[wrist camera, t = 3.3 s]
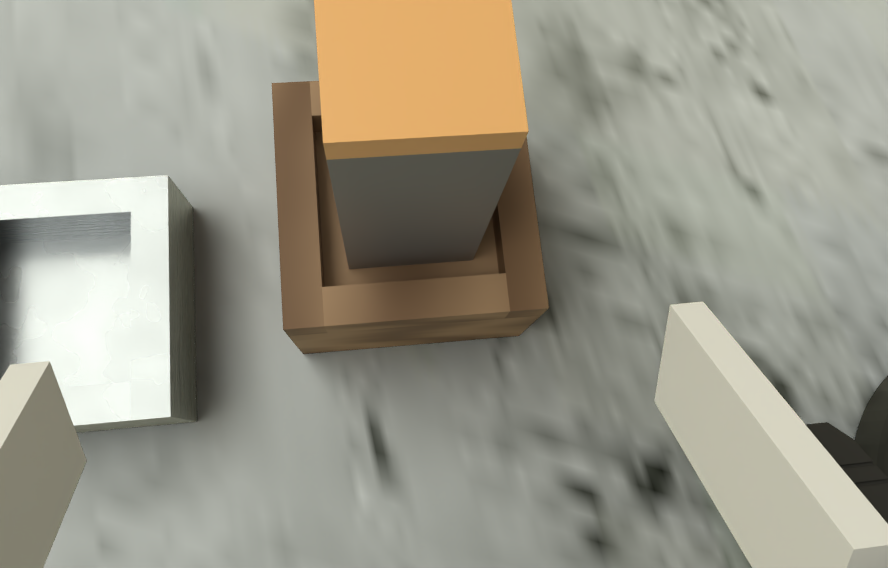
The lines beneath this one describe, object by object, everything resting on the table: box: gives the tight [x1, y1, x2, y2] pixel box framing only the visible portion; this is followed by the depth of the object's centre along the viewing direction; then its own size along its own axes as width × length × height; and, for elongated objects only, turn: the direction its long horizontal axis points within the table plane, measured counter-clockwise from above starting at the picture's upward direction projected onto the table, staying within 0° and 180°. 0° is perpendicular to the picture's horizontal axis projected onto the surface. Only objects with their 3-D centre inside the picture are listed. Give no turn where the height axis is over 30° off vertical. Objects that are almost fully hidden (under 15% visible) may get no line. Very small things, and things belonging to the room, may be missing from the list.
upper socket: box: [272, 81, 549, 354], centre depth 31 cm, size 10×10×6 cm
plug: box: [314, 0, 529, 269], centre depth 24 cm, size 5×5×12 cm
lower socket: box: [0, 175, 197, 433], centre depth 31 cm, size 10×10×4 cm
